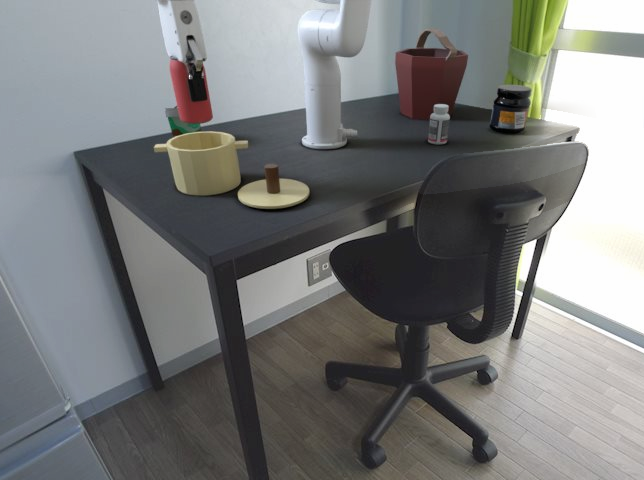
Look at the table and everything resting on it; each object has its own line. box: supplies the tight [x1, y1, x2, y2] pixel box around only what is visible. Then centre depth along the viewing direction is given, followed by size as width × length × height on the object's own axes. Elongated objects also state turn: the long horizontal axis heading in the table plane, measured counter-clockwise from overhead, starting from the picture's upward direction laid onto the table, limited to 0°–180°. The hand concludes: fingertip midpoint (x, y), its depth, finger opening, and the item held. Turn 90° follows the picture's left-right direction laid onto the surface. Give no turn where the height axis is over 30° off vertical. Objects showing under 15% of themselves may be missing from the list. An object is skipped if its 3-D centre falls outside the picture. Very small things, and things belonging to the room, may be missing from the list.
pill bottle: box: [427, 104, 451, 145], centre depth 124 cm, size 5×5×10 cm
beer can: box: [169, 56, 214, 125], centre depth 90 cm, size 7×7×12 cm
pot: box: [153, 130, 249, 197], centre depth 98 cm, size 14×19×10 cm
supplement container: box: [489, 84, 532, 135], centre depth 134 cm, size 10×10×12 cm
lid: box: [237, 163, 310, 210], centre depth 93 cm, size 15×15×7 cm
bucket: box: [394, 28, 469, 121], centre depth 146 cm, size 24×22×25 cm
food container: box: [164, 105, 202, 138], centre depth 123 cm, size 12×6×10 cm, turn 168°
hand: (192, 96), depth 90 cm, fingers closed on beer can, 6 cm apart
